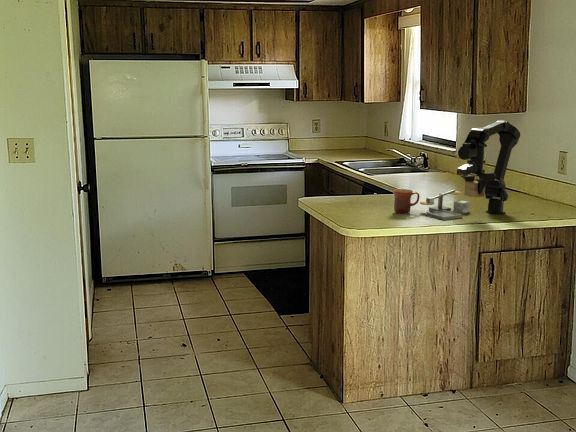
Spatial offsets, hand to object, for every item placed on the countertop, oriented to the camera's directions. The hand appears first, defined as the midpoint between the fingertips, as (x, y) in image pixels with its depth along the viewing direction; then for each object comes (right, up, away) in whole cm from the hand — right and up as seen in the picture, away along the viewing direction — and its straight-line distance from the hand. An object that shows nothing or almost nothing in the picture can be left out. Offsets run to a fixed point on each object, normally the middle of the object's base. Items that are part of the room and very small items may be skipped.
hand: (474, 193), depth 307 cm
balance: (-11, -8, +17) cm, 22 cm away
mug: (-28, -9, +12) cm, 32 cm away
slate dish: (-12, -10, +4) cm, 17 cm away
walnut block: (0, -1, 0) cm, 1 cm away
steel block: (-2, -8, +15) cm, 17 cm away
